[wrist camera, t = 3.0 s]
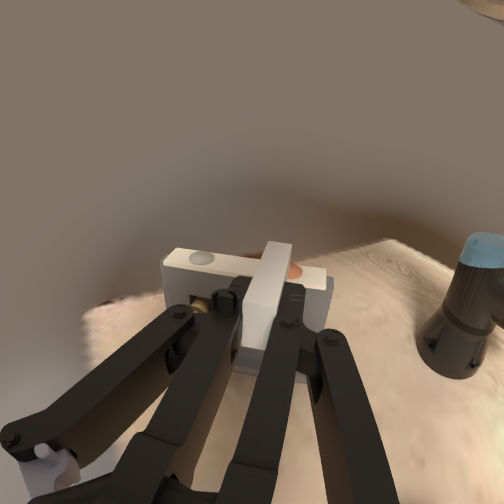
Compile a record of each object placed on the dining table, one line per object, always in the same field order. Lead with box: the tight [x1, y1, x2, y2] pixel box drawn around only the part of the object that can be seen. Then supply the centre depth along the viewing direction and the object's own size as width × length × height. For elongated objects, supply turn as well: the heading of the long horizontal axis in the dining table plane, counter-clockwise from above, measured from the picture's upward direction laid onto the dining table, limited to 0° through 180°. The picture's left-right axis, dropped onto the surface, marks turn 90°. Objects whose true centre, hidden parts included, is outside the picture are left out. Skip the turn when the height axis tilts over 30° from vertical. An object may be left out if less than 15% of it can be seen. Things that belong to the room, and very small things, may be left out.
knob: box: [188, 296, 212, 313], centre depth 38 cm, size 9×4×4 cm, turn 167°
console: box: [160, 248, 334, 384], centre depth 38 cm, size 6×22×17 cm, turn 77°
